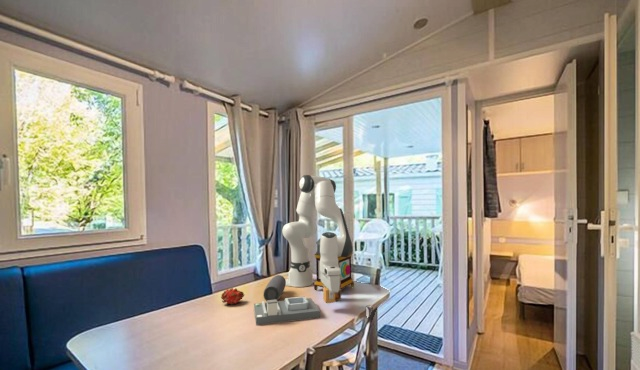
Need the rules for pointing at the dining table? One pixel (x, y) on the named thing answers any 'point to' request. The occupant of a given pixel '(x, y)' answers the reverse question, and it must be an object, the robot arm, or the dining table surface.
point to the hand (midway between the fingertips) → (329, 296)
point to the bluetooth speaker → (275, 288)
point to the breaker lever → (272, 307)
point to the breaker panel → (287, 311)
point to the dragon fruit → (232, 296)
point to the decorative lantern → (344, 267)
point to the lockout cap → (327, 296)
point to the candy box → (338, 294)
